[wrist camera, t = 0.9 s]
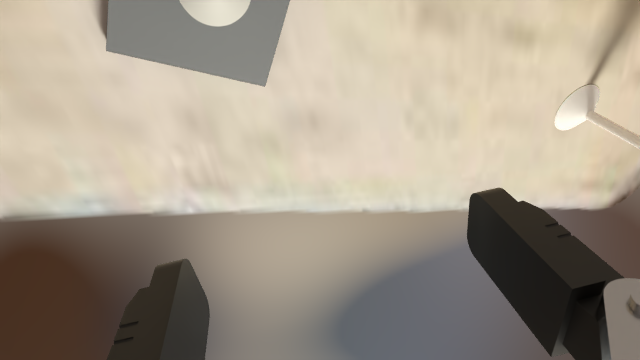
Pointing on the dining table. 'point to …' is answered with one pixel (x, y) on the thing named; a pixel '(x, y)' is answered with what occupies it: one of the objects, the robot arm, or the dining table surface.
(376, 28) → the dining table surface
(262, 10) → the stub plate
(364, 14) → the dining table surface
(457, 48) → the dining table surface
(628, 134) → the champagne flute
